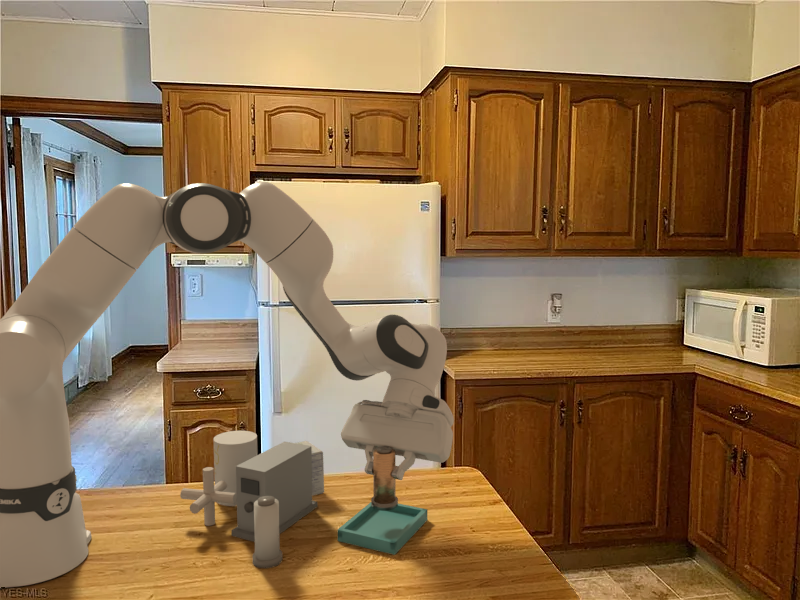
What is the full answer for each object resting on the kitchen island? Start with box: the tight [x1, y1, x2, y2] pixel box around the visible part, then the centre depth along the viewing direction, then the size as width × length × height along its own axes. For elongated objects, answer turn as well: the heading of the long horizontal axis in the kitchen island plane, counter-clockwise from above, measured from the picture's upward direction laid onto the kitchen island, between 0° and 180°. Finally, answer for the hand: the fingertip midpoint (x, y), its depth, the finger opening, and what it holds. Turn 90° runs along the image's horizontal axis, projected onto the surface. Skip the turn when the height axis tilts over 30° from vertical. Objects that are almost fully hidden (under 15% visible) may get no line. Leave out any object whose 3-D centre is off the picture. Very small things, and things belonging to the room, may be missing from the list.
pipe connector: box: [179, 466, 237, 527], centre depth 113 cm, size 10×10×10 cm
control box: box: [231, 441, 318, 543], centre depth 114 cm, size 7×16×12 cm, turn 155°
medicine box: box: [295, 440, 325, 497], centre depth 128 cm, size 8×4×9 cm, turn 32°
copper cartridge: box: [370, 446, 399, 511], centre depth 110 cm, size 5×5×10 cm
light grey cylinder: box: [213, 430, 259, 507], centre depth 124 cm, size 8×8×12 cm
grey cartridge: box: [252, 496, 283, 569], centre depth 100 cm, size 5×5×10 cm
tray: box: [336, 501, 428, 556], centre depth 111 cm, size 11×14×2 cm
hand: (382, 475), depth 109 cm, fingers closed on copper cartridge, 4 cm apart
